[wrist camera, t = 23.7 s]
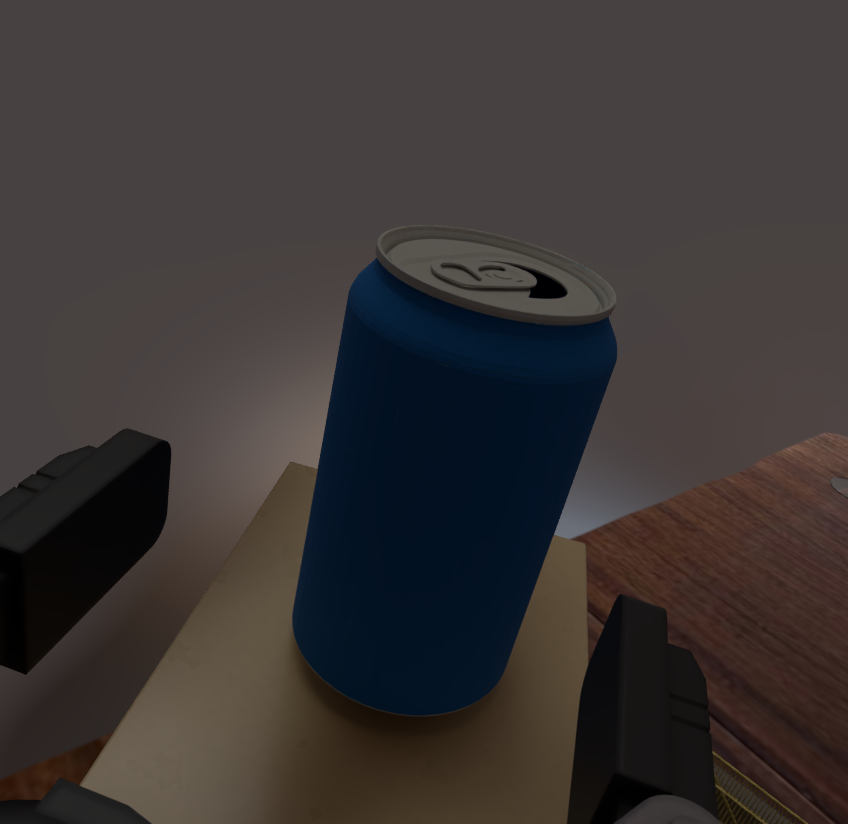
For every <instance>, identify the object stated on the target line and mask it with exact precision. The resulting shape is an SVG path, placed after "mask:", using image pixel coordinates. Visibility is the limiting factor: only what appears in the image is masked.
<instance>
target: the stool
mask: <svg viewBox="0 0 848 824" xmlns="http://www.w3.org/2000/svg"><path fill="white" fill-rule="evenodd" d="M317 471H318V469H315V468H311V467H308V466H304V465H301V464H297V463H294V462H290V463H289V465H288V466H287V468H286V469H285V471H284V472H283V474H282V475H281V477H280V478H279V480H278V481H277V483H276V484H275V486H274V488H273V489H272V491H271V492H270V494H269V495H268V497H267V499H266V500H265V502H264V503H263V504H262V506H261V508H260V509H259V511H258V512H257V514H256V515H255V517H254V518H253V520H252V522H251V523H250V525H249V526H248V527H247V529H246V531H245V532H244V534H243V535H242V537H241V538H240V540H239V541H238V543H237V544H236V546H235V548H234V549H233V550H232V552H231V554H230V555H229V557H228V558H227V560H226V562H225V563H224V564H223V566H222V567H221V569H220V570H219V572H218V574H217V575H216V577H215V578H214V580H213V581H212V583H211V584H210V586H209V587H208V589H207V590H206V592H205V593H204V595H203V597H202V598H201V600H200V601H199V603H198V604H197V606H196V607H195V609H194V610H193V612H192V614H191V615H190V616H189V618H188V619H187V621H186V623H185V624H184V626H183V627H182V629H181V630H180V632H179V633H178V635H177V636H176V638H175V640H174V641H173V643H172V644H171V646H170V647H169V649H168V650H167V652H166V653H165V655H164V656H163V658H162V660H161V661H160V662H159V664H158V666H157V667H156V669H155V670H154V672H153V673H152V675H151V676H150V678H149V679H148V681H147V682H146V684H145V686H144V687H143V689H142V690H141V692H140V693H139V695H138V696H137V698H136V699H135V701H134V703H133V704H132V705H131V707H130V708H129V710H128V712H127V713H126V715H125V716H124V718H123V719H122V721H121V722H120V724H119V725H118V727H117V729H116V730H115V731H114V733H113V735H112V736H111V738H110V739H109V741H108V742H107V744H106V745H105V747H104V748H103V750H102V751H101V753H100V754H99V756H98V758H97V759H96V761H95V762H94V764H93V765H92V767H91V768H90V770H89V771H88V773H87V774H86V776H85V778H84V779H83V781H82V782H81V784H80V785H79V786H82V787H84V788H87V789H89V790H92V791H94V792H97V793H99V794H102V795H104V796H107V797H109V798H112V799H114V800H117V801H119V802H122V803H124V804H126V805H129V806H130V807H131V808H133V809H134V810H135V811H136V812H138V813H139V814H140V815H142V816H143V817H144V818H145V819H147V820H148V821H149V822H150V823H152V824H567V816H568V807H569V797H570V787H571V778H572V768H573V758H574V749H575V739H576V729H577V720H578V710H579V701H580V694H581V689H582V685H583V681H584V677H585V673H586V670H587V667H588V618H587V570H586V544H584V543H581V542H577V541H573V540H570V539H566V538H563V537H559V536H555V535H553V538H552V541H551V544H550V547H549V549H548V552H547V555H546V558H545V560H544V563H543V566H542V569H541V572H540V574H539V577H538V580H537V583H536V585H535V588H534V591H533V594H532V597H531V599H530V602H529V605H528V608H527V610H526V613H525V616H524V619H523V622H522V624H521V627H520V630H519V633H518V635H517V638H516V641H515V644H514V647H513V649H512V652H511V655H510V658H509V660H508V663H507V666H506V669H505V671H504V674H503V676H502V677H501V679H500V680H499V682H498V684H497V685H496V686H495V687H494V688H493V689H492V690H491V692H490V693H489V694H487V695H486V696H485V697H484V698H482V699H481V700H480V701H478V702H476V703H474V704H473V705H471V706H469V707H467V708H464V709H461V710H459V711H456V712H452V713H448V714H443V715H436V716H404V715H396V714H391V713H387V712H382V711H378V710H375V709H373V708H370V707H367V706H364V705H362V704H359V703H357V702H355V701H353V700H351V699H349V698H347V697H346V696H344V695H342V694H341V693H339V692H337V691H336V690H334V689H333V688H332V687H331V686H329V685H328V684H327V683H325V682H324V681H323V680H322V679H321V678H320V677H319V676H318V675H317V674H316V673H315V672H314V671H313V670H312V668H311V667H310V666H309V665H308V663H307V662H306V661H305V659H304V657H303V656H302V654H301V652H300V650H299V648H298V645H297V643H296V640H295V637H294V632H293V627H292V613H293V607H294V601H295V595H296V590H297V584H298V578H299V573H300V567H301V561H302V556H303V550H304V544H305V539H306V533H307V527H308V522H309V516H310V510H311V505H312V499H313V493H314V488H315V482H316V476H317Z"/></svg>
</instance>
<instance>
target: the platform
mask: <svg viewBox="0 0 848 824" xmlns="http://www.w3.org/2000/svg"><path fill="white" fill-rule="evenodd" d="M712 753H713V755H714V756H715V757H714V759H713V761H714V760H715V758H716V757H717V758H718V761H717V762H716V764H714V763H713V764H714V775H715V786H716V797H717V808H718V818H719V822H720V823H721V824H795V823H796V822H797V820H798V819H799V820H800V821H801V822H800V824H802V823H804V824H808V823H807V822H805V821H804V820H803V819H802V818H800V817H799V816H798V815H796V814H795V813H794V812H792V811H791V810H790V809H788V808H787V807H786V806H784V805H783V804H782V803H780V802H779V801H778V800H776V799H775V798H774V797H772V796H771V795H770V794H769V793H767V792H766V791H765V790H763V789H762V788H761V787H759V786H758V785H757V784H755V783H754V782H753V781H751V780H750V779H749V778H747V777H746V776H745V775H743V774H742V773H741V772H739V771H738V770H737V769H736V768H734V767H733V766H732V765H730V764H729V763H728V762H726V761H725V760H724V759H722V758H721V757H720V756H718V755H717V754H716V753H714V752H713V751H712ZM719 760H721V761H722V763H721V765H720V767H718V766H717V764H718V762H719ZM723 763H725V764H726V765H725V767H724V769H723V770H722V769H721V766H722V764H723ZM727 766H729V767H730V768H729V770H728V771H727V773H726V772H725V771H724V770H725V768H726V767H727ZM730 769H733V772H732V774H731V775H729V774H728V772H729V771H730ZM734 772H737V775H736V776H735V778H733V777H732V775H733V773H734ZM738 774H739V775H741V777H740V779H739V780H738V781H737V780H735V779H736V777H737V776H738ZM742 777H743V778H745V780H744V781H743V783H742V784H741V783H739V782H740V780H741V778H742ZM746 780H747V781H749V783H748V784H747V786H746V787H744V786H743V784H744V783H745V781H746ZM750 783H751V784H752V787H751V788H750V790H748V789H747V787H748V785H749V784H750ZM753 786H755V787H756V790H755V791H754V793H752V792H751V790H752V788H753ZM757 789H759V790H760V792H759V794H758V796H756V795H755V792H756V791H757ZM761 792H763V793H764V795H763V797H762V799H760V798H759V795H760V794H761ZM765 795H767V796H768V798H767V800H766V801H765V802H764V801H763V798H764V796H765ZM769 798H771V799H772V801H771V803H770V804H769V805H768V804H767V803H766V802H767V801H768V799H769ZM773 801H775V802H776V804H775V806H774V807H773V808H772V807H771V806H770V805H771V804H772V802H773ZM777 804H779V805H780V807H779V809H778V810H777V811H776V810H774V808H775V807H776V805H777ZM781 807H783V808H784V811H783V812H782V814H780V813H778V812H779V810H780V809H781ZM785 810H787V811H788V814H787V815H786V817H784V816H782V815H783V813H784V812H785ZM790 813H791V814H792V817H791V818H790V820H788V819H786V818H787V816H788V815H789V814H790ZM794 816H795V817H796V818H797V819H796V820H795V822H794V823H791V822H790V821H791V820H792V818H793V817H794Z"/></svg>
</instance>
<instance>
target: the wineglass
mask: <svg viewBox="0 0 848 824" xmlns="http://www.w3.org/2000/svg"><path fill="white" fill-rule="evenodd" d="M830 481H831V484H832V486H833V487H834V488H835V489H836V490H837V491H838V492H840V493H841V494H843V495H844V496H846V497H848V478H844V477H834V478H832V479H831V480H830Z"/></svg>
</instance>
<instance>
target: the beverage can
mask: <svg viewBox="0 0 848 824" xmlns="http://www.w3.org/2000/svg"><path fill="white" fill-rule="evenodd" d="M376 256H377V258H376V259H375V260H374V261H373V262H372V263H371V264H369V265H368V266H367V267H366V268H365V269H364V270H363V271H362V272H361V273H360V274H359V275H358V276H357V277H356V279H355V280H354V282H353V284H352V286H351V288H350V290H349V295H348V301H347V306H346V312H345V318H344V323H343V329H342V334H341V340H340V346H339V352H338V357H337V363H336V369H335V375H334V380H333V386H332V392H331V397H330V403H329V408H328V414H327V420H326V426H325V431H324V437H323V442H322V448H321V454H320V460H319V465H318V471H317V476H316V482H315V488H314V493H313V499H312V505H311V510H310V516H309V522H308V527H307V533H306V539H305V544H304V550H303V556H302V561H301V567H300V573H299V578H298V584H297V590H296V595H295V601H294V607H293V613H292V627H293V632H294V637H295V640H296V643H297V645H298V648H299V650H300V652H301V654H302V656H303V657H304V659H305V661H306V662H307V663H308V665H309V666H310V667H311V668H312V670H313V671H314V672H315V673H316V674H317V675H318V676H319V677H320V678H321V679H322V680H323V681H324V682H325V683H327V684H328V685H329V686H331V687H332V688H333V689H334V690H336V691H337V692H339V693H341V694H342V695H344V696H346V697H347V698H349V699H351V700H353V701H355V702H357V703H359V704H362V705H364V706H367V707H370V708H373V709H375V710H378V711H382V712H387V713H391V714H396V715H404V716H436V715H443V714H448V713H452V712H456V711H459V710H461V709H464V708H467V707H469V706H471V705H473V704H474V703H476V702H478V701H480V700H481V699H482V698H484V697H485V696H486V695H487V694H489V693H490V692H491V690H492V689H493V688H494V687H495V686H496V685H497V684H498V682H499V680H500V679H501V677H502V676H503V674H504V671H505V669H506V666H507V663H508V660H509V658H510V655H511V652H512V649H513V647H514V644H515V641H516V638H517V635H518V633H519V630H520V627H521V624H522V622H523V619H524V616H525V613H526V610H527V608H528V605H529V602H530V599H531V597H532V594H533V591H534V588H535V585H536V583H537V580H538V577H539V574H540V572H541V569H542V566H543V563H544V560H545V558H546V555H547V552H548V549H549V547H550V544H551V541H552V538H553V535H554V533H555V530H556V527H557V524H558V522H559V519H560V516H561V513H562V510H563V508H564V505H565V502H566V499H567V496H568V494H569V491H570V488H571V485H572V483H573V480H574V477H575V474H576V471H577V469H578V466H579V463H580V460H581V458H582V455H583V452H584V449H585V446H586V444H587V441H588V438H589V435H590V433H591V430H592V427H593V424H594V421H595V419H596V416H597V413H598V410H599V408H600V405H601V402H602V399H603V397H604V394H605V391H606V388H607V385H608V382H609V380H610V377H611V374H612V372H613V369H614V366H615V363H616V359H617V343H616V338H615V335H614V332H613V329H612V327H611V323H610V321H609V315H611V313H612V311H613V310H614V308H615V305H616V299H617V297H616V294H615V291H614V290H613V289H612V287H611V286H610V285H609V284H608V283H607V282H606V281H605V280H604V279H603V278H601V277H600V276H599V275H598V274H596V273H595V272H593V271H592V270H590V269H588V268H586V267H585V266H583V265H581V264H579V263H577V262H575V261H573V260H571V259H569V258H567V257H564V256H562V255H560V254H557V253H555V252H552V251H550V250H547V249H544V248H541V247H539V246H536V245H533V244H529V243H526V242H523V241H520V240H516V239H512V238H509V237H505V236H501V235H496V234H492V233H487V232H482V231H477V230H471V229H465V228H457V227H448V226H434V225H432V226H431V225H416V226H405V227H399V228H395V229H391V230H389V231H387V232H385V233H383V234H382V235H381V236H380V237H379V239H378V241H377V246H376Z"/></svg>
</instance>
